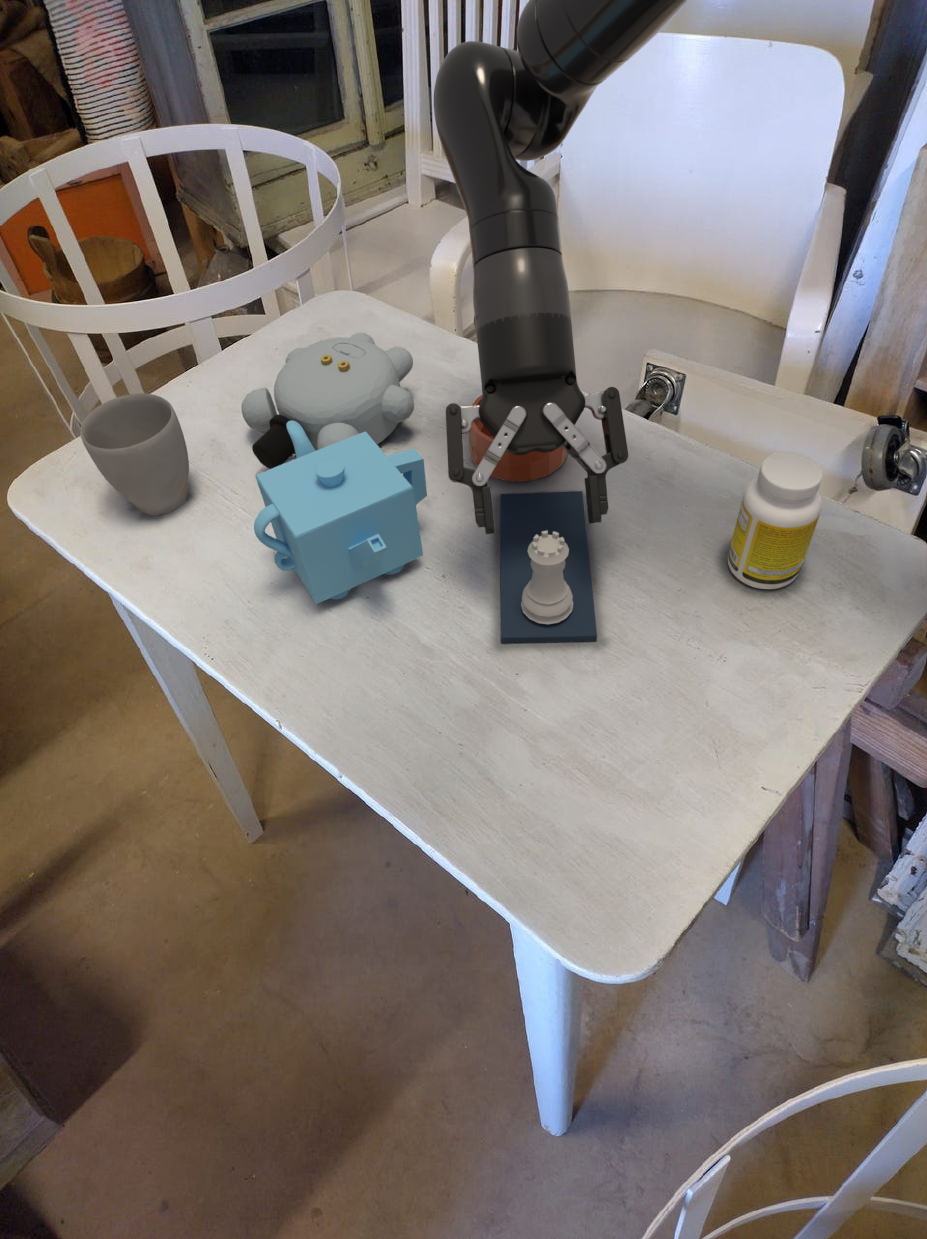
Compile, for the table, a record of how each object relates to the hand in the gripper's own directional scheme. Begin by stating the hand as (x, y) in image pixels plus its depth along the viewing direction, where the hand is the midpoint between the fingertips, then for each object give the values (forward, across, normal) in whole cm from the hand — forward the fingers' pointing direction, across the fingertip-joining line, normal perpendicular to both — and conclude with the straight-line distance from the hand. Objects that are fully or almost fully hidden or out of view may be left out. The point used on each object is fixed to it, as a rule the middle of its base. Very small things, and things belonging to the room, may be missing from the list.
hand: (542, 528), depth 66 cm
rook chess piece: (+7, 0, +4) cm, 8 cm away
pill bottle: (+6, +20, +6) cm, 22 cm away
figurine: (-13, -19, +25) cm, 34 cm away
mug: (-8, -38, +20) cm, 43 cm away
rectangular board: (+3, +1, +8) cm, 9 cm away
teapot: (+1, -17, +11) cm, 20 cm away
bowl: (-8, +1, +20) cm, 21 cm away
